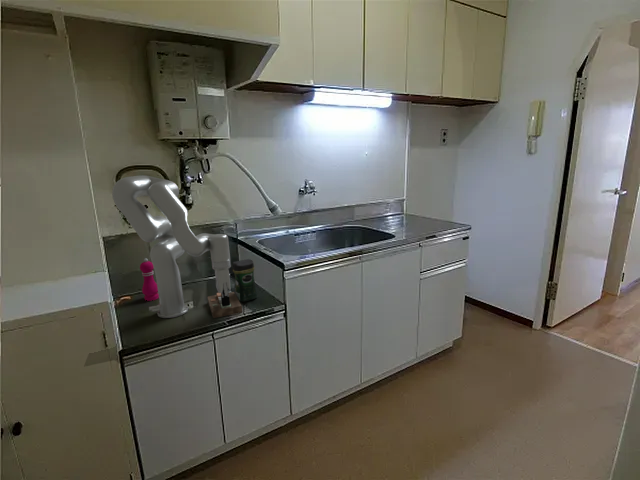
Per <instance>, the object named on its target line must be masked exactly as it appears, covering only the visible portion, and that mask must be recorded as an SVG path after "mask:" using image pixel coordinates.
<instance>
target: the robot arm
mask: <svg viewBox="0 0 640 480" xmlns="http://www.w3.org/2000/svg"><path fill="white" fill-rule="evenodd" d="M179 195H180V188H179V186H178V185H177V184H176V183H175V182H174V181H171V180H168V179H165V178H164V179H163V178H160V177H159V178H158V177H155V176H149V175H144V174H143V175H142V174H141V175H135V176H134V175H133V176H126V177H123V178H121V179H119V180H117V181H116V182H115V184H114V185H113V188H112V195H111V196H112V199H113V200H112V201H113V202H114V204H115V206H116V207H117V209H118V210H119V211H120V213H122V215H123V216H124V217H125V219H126V220H127V221H128V223H129V224H130V226H131V227H132V228H133V230H134V231H135V233H136V234H137V236H138V237H139V238H140V239H141V240H142V241H144V242H146V243H152V242H155V241H157V240H158V242H156V243H155V244H154V245H153V246H152V248H151V249H150V252H149V258H150V262H152V264H153V266H154V269H153V271H154V275H155V280H156V281H155V282H156V284H157V287H158V292H157V293H158V294H159V298H158V299H159V303H158V304H157V305H152V306H148V311H149V312H152V313H156V312H157V313H156V314H157V316H158V317H159V318H162V319H171V318H177V317H181V316H182V315H185V314H186V313H188V311H189V306H188V305H187V304H185V301H184V293H183V286H182V278H181V272H180V268H179V265H178V264H177V261H176V260H177V259H179V258H180V257H182V255H184V253H186V254H188V255H189V256H191V257H193V258H194V257H200V256H202V255H204V253H206V252H209V251H210V258H211V260H210V261H211V266H212V267H211V268H212V270H214V276H215V287H216V290H217V293H221V301H222V306H228V305H230V299H229V293H230V292H231V279H230V278H231V277H230V268H232V262H231V254H230V253H231V252H230V246H229V245H230V243H229V236H228V235H227V234H224V233H216V234H213V233H205V232H204V233H200V234H197V235H195V233H194V232H193V231H192V230H191V229H190V226H189V224H188V213H189V211H188V208H187V207H186V206H185V205H184V204H183V202H182V201H181V200H180V198H179ZM144 196H146V197H149V199H150V200H151V201H152V203H153V204H154V205H155V207H157V208H158V210H159V211H160V213H161V214H162V215H154V216H153V215H152V214H151V212H149V210H148V209H147V207H146V206H145V205H144V204H143V203H142V202H140V201H139V200H138V199H137V198H140V197H144Z"/></svg>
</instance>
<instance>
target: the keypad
mask: <svg viewBox="0 0 640 480" xmlns="http://www.w3.org/2000/svg"><path fill="white" fill-rule="evenodd" d="M229 299H230V304H231V307H227V308H222V309H221V305H220V304H219V299H217V294H214V295H209V296H207V303H208V307H209V310H210V312H211V315H212V319H216V318H221V317H226V316H232V315H236V314H241V313H243V306H242V304H241V301H239V300H238V298H237V296H236V294H235V291H229Z"/></svg>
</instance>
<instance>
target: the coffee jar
mask: <svg viewBox="0 0 640 480" xmlns="http://www.w3.org/2000/svg"><path fill="white" fill-rule="evenodd" d="M254 272H255V265H254V261H253V259H251V258H246V259H242V260H237V261H233V262H232V273H234V280H235V286H234V287H235V291H234V293H235V295H236V296H237V298H238V300H239V302H240V303H241V302H242V303H243V302H248V301H251V300H252V301H253V300H255V299H257V297H258V291H257V288H256V287H257V286H256V282H255V276H254V274H255V273H254Z"/></svg>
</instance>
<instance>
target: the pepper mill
mask: <svg viewBox="0 0 640 480" xmlns="http://www.w3.org/2000/svg"><path fill="white" fill-rule="evenodd" d="M139 269H140V271H141V274H142V277H143V283H142V288H141V292H142V294H143V295H144V296H143V297H144V298H143V299H144V300H145V301H146V300H147V301H146V302H153V301H156V300H158V299H159V294H158V287H157V281H155V279H154V275H155V270H154V266H153V264H152V261H151V260H150V261H149V259H148V258H146V257H145V258H144V259H143V262H141V263H140V265H139ZM152 300H153V301H152Z"/></svg>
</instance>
